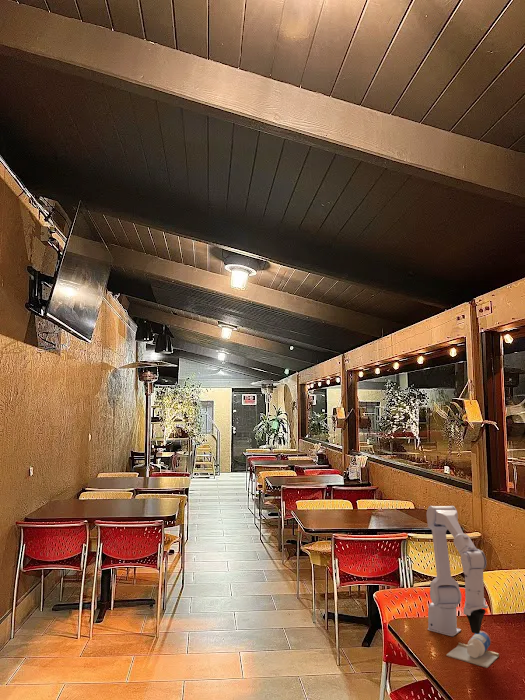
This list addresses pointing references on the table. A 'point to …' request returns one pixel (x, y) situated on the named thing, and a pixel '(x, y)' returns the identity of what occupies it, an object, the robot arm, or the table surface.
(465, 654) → the mat
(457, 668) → the table surface
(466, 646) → the stop strip
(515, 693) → the table surface
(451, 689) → the table surface
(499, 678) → the table surface
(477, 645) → the pill bottle
